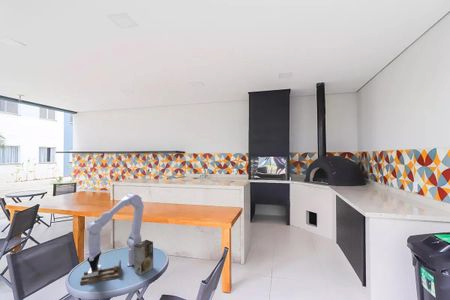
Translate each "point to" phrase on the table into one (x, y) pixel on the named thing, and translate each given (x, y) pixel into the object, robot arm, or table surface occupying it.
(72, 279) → the table surface
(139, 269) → the coffee box
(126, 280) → the table surface
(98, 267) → the press carriage
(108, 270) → the nut press
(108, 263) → the table surface
